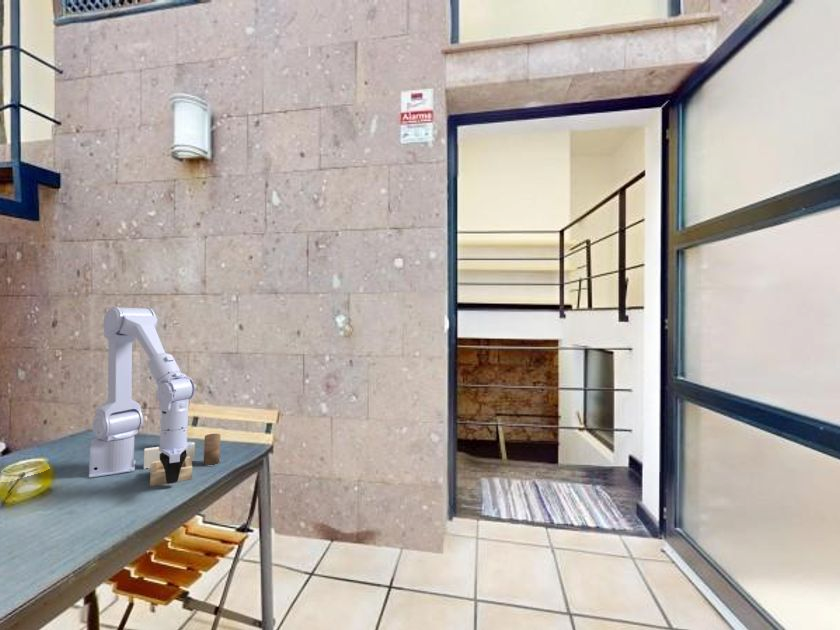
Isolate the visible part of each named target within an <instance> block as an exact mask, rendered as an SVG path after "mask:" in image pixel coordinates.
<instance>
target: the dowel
mask: <svg viewBox="0 0 840 630" xmlns="http://www.w3.org/2000/svg"><path fill="white" fill-rule="evenodd" d="M203 442H204V446H203V447H204V448H203V466H204V465H215V464H218V463H219V464H220V459H221V458H220V456H221V455H220V454H221V453H220V452H221V433H210V434H206V435H205V436H204V441H203ZM219 464H218V465H219ZM215 466H216V465H215Z"/></svg>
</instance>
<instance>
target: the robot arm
mask: <svg viewBox="0 0 840 630" xmlns="http://www.w3.org/2000/svg"><path fill="white" fill-rule="evenodd" d="M157 324H158V318H157V315H156V313H155V310H153V309H152V308H151V307H142V308H141V307H118V306H112V307H110V308H109V309H108V310H107V311H106V312H105V314H104V315H103V337H104V338H106V339H108V341H107V345H108V346H107V348H108V349H107V356H108V357H107V358H108V359H107V401H105V402H104V403H103V404H101V406H100V405H99V407H98V408H97V409H95V412H94V418H93V421H92V427H91V428H92V432H93V435H94V436H95V438H93V439H91V442H90V447H89V461H88V478H89V479H90V478H98V477H104V476H105V477H106V476H111V475H117V474H124V473H130V472H134V471H135V469H136V462H137V461H136V459H135V457H134V456H135V435H138V431H140V430H141V428H142V427H143V424H144V415H143V413H142V406H141V404H140V403H138V402H137V401H135V400H134V399H132V398H133V393H132V392H133V391H132V390H133V387H132V383H133V381H132V379H133V368H132V367H133V342H134V341H135V340H137V341H138V343H139V344H140V346H141V347H142V349H143V350H144V352H145V353H146V355H147V356H148V359H149V360H148V363H147V367H148V370H149V372H150V373H151V375H152V377H153V379H154V382H155V383H156V385H157V390H155V394H156V395H155V396H156V399H157V401H158V408H159V411H160V414H161V415H160V431H159V432H160V436H159V437H160V438H159V446H158V447H159V451H160V452H162V453H160V461H161V463H162V464H163V467H164V470H165V476H166V481H167V483H166V484H167V485H169V484H170V485H171V484H176V483H178V482H179V481H178V478H179V474H180V470H181V466H182V464H183V462H184V460H185V459H186V457H187V454H186V448H187V447H191V446H192V442H193V441H188V431H189V430H188V429H189V427H188V425H189V406H190V405H189V403H190V401H189V400H191V399H192V398H193V397H194V395H195V393H196V388H195V383H194V380H193V378H191V377H190V376H187V375H186V374H185V373H182V371H181V368H180V367H179V365H178V363H177V362H176V360H175V358H174V356H173V355H172V354H171V353H167V352H166V350H165V348H164V347H163V344H162V342H161V338H160V336H159V334H158V332H157V329H156V328H157Z"/></svg>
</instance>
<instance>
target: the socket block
mask: <svg viewBox="0 0 840 630" xmlns="http://www.w3.org/2000/svg"><path fill="white" fill-rule="evenodd" d="M192 463H193V462H191V459H190V456H189V457H186V459H185V460H184V462H183V464H182V466H181V470H180V474H179V478H178V481H177V482H183V481H188V479H189V480H192V479H193V464H192ZM149 470H150V471H149V474H150V475H149V477H150V478H149V479H150V480H149V487H153V486H159V485H165V484H167V481H166V476H165V470H164V467H163V464H162V463H161V461H154V462H151V468H149Z"/></svg>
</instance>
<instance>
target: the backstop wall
mask: <svg viewBox="0 0 840 630" xmlns="http://www.w3.org/2000/svg"><path fill="white" fill-rule="evenodd" d="M191 442H192V446H191V447H187V448H186V454H187V457H189V456H190V459H191V463H193V462H192V461H194V462H195V453H196V451H195V450H196V443H195V442H194V441H191ZM160 453H162V452H160V451H159V446H155V447H154V446H152V447H145V448H144V452H143V470H146V468H148V469H150V468H151V462H154V461H160Z"/></svg>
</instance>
